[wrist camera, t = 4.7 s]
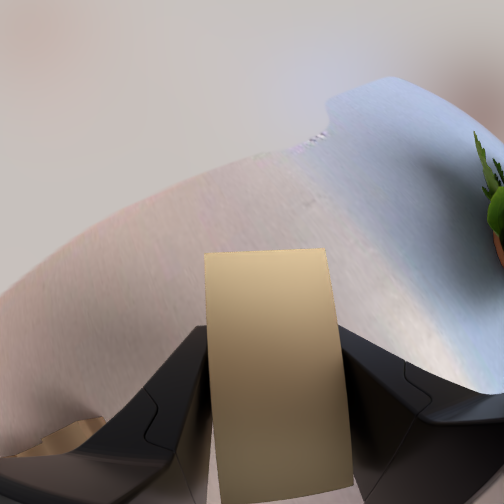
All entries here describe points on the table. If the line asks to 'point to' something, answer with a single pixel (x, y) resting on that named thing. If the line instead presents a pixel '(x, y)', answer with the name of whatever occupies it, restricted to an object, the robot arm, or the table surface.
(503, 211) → the potted flower
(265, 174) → the table surface
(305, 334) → the tall wooden block
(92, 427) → the lower notched wooden block
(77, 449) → the robot arm
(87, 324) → the table surface
